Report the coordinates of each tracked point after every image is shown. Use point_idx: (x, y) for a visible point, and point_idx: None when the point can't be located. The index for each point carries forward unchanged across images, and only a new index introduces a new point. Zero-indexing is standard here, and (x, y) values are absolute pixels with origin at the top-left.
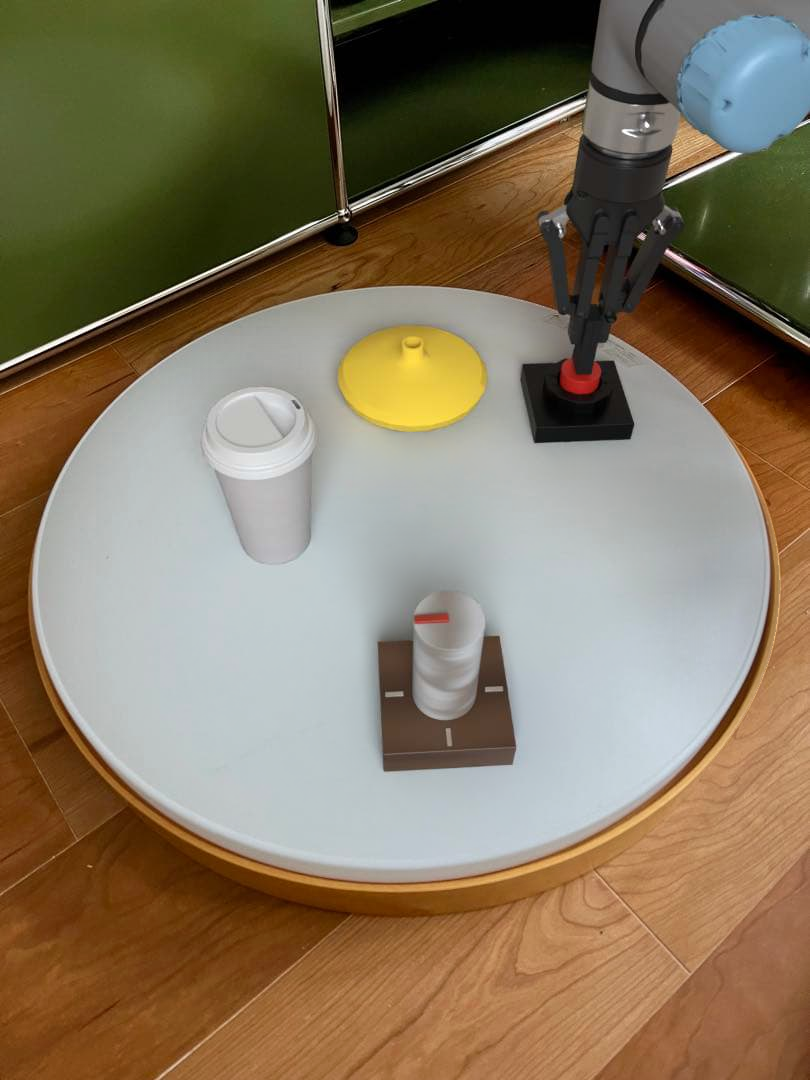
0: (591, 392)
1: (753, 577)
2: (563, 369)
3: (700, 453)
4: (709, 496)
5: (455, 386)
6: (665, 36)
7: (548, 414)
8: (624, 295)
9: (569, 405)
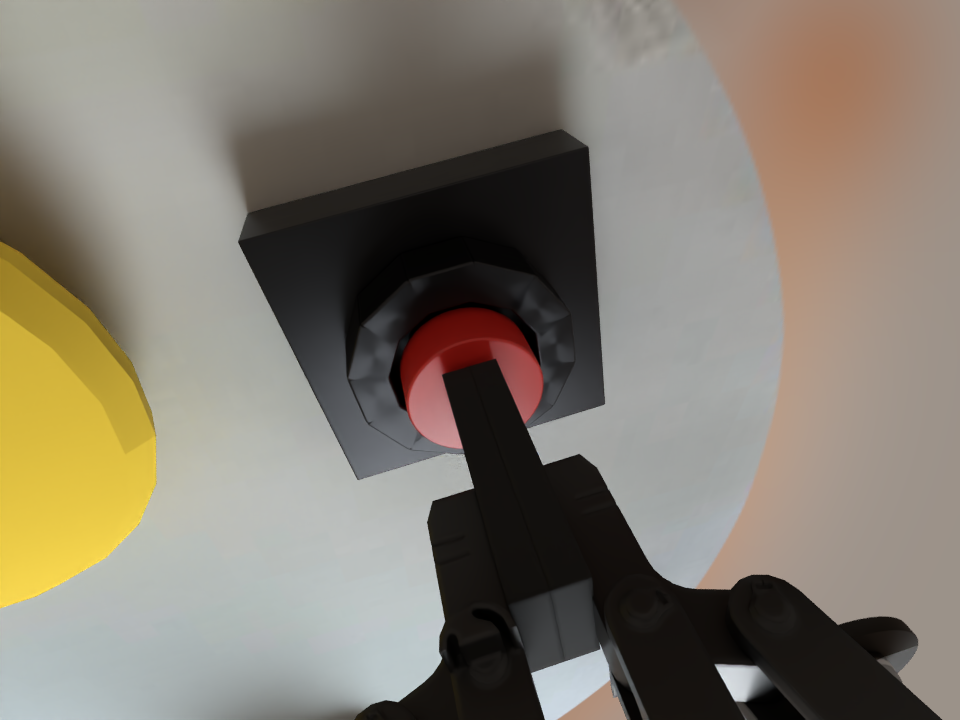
0: None
1: (710, 556)
2: (414, 414)
3: (724, 369)
4: (702, 458)
5: (49, 516)
6: None
7: (381, 436)
8: (763, 683)
9: None
